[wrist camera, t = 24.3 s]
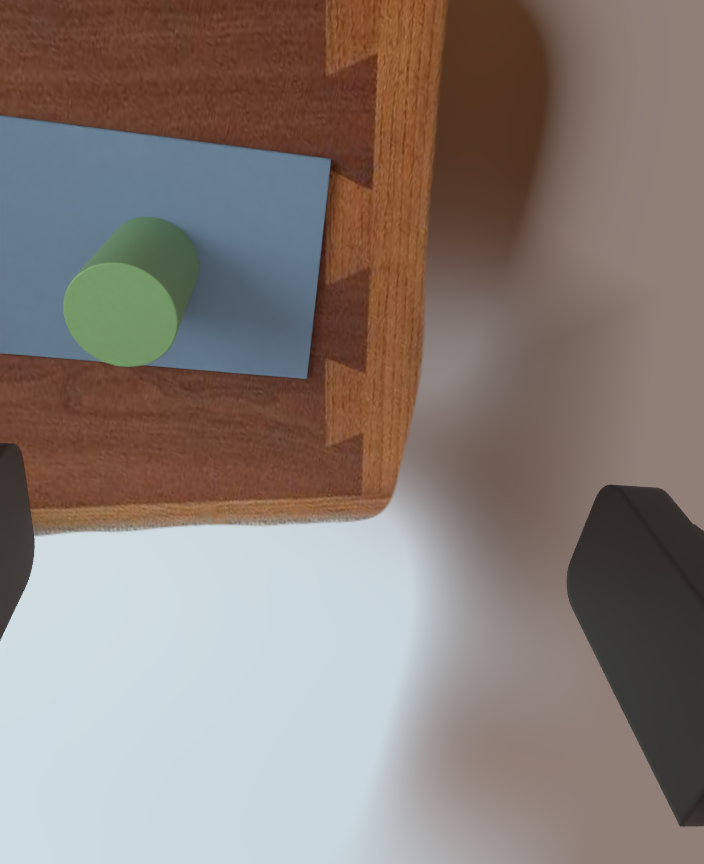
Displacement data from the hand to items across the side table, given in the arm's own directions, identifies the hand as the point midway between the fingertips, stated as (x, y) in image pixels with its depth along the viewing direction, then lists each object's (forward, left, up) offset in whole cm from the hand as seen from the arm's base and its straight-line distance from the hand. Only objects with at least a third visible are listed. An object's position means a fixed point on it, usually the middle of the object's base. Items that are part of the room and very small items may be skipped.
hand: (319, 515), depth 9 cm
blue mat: (+8, +7, -33) cm, 35 cm away
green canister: (+8, +7, -33) cm, 34 cm away
